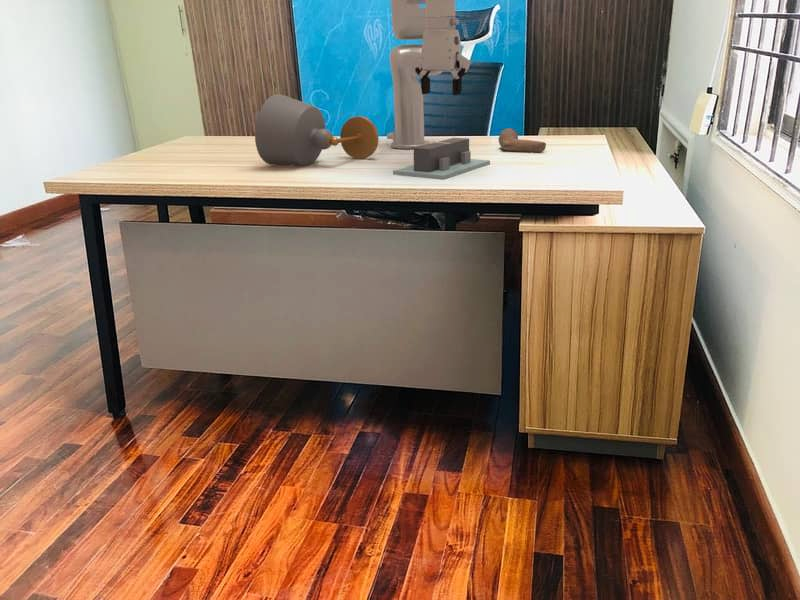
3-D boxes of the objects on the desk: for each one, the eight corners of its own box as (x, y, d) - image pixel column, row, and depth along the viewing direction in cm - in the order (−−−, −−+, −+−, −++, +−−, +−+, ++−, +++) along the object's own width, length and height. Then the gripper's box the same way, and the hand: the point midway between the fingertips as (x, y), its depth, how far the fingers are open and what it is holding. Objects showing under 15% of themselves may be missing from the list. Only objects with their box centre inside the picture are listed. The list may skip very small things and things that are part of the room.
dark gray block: (454, 158, 200) (453, 137, 198) (469, 160, 197) (469, 138, 195) (414, 170, 185) (413, 147, 183) (429, 172, 182) (429, 148, 180)
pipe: (542, 138, 207) (552, 128, 214) (489, 136, 214) (500, 126, 221) (542, 159, 210) (552, 148, 217) (490, 156, 217) (501, 146, 225)
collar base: (393, 174, 187) (392, 159, 185) (441, 160, 205) (441, 146, 203) (443, 179, 178) (443, 163, 176) (489, 164, 196) (490, 149, 194)
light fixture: (255, 94, 193) (338, 109, 183) (305, 93, 215) (382, 106, 205) (251, 167, 200) (331, 185, 191) (300, 159, 222) (375, 175, 212)
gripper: (477, 23, 176) (476, 93, 182) (420, 25, 186) (422, 91, 192) (461, 24, 170) (461, 96, 177) (404, 25, 180) (406, 94, 186)
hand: (441, 94), depth 184 cm, fingers open, 9 cm apart
